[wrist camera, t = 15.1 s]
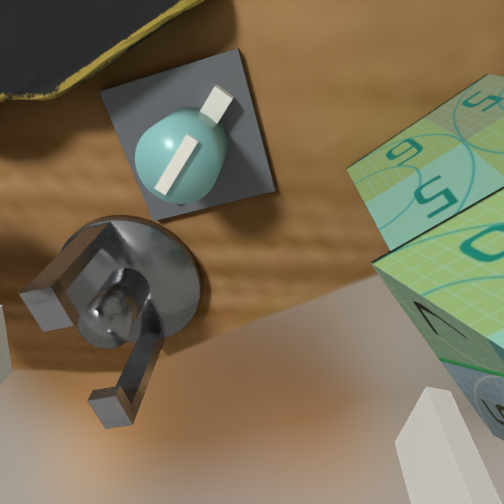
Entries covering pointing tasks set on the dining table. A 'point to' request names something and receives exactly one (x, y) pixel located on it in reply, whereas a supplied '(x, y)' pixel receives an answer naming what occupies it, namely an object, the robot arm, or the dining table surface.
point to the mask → (71, 40)
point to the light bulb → (185, 151)
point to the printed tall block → (448, 235)
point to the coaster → (195, 95)
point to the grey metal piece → (119, 299)
